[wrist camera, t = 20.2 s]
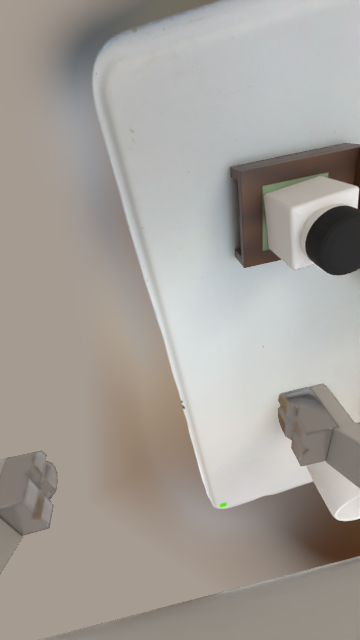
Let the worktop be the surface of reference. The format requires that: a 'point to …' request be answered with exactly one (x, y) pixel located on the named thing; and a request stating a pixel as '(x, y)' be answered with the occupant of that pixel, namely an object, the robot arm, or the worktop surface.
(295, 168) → the shelf
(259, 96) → the worktop surface
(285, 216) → the medicine bottle
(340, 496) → the cup
